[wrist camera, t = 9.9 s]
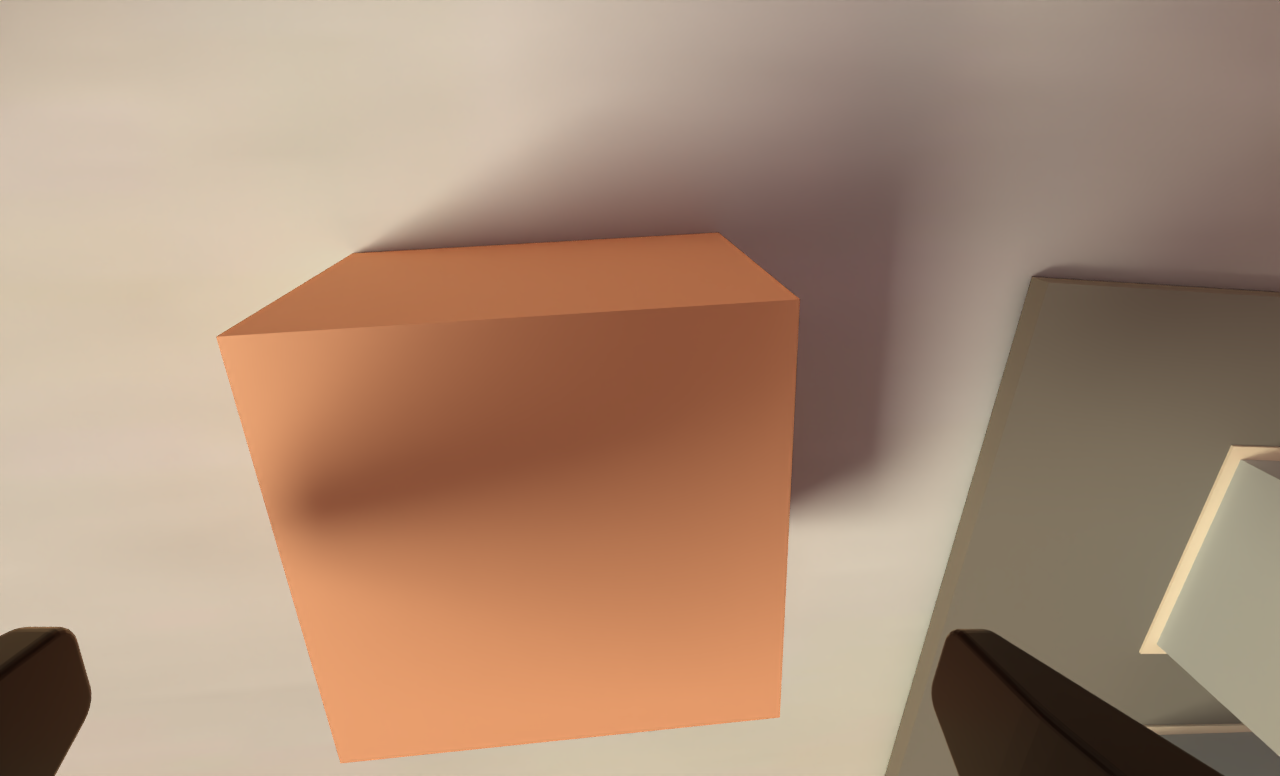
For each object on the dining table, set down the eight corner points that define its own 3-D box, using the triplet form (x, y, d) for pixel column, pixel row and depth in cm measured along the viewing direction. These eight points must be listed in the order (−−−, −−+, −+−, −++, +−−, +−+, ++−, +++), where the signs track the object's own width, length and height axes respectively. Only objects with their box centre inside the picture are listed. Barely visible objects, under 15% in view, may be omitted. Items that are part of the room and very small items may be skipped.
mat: (1309, 908, 22) (1326, 927, 22) (839, 930, 20) (846, 951, 20) (1713, 319, 15) (1755, 327, 14) (1032, 276, 13) (1051, 283, 13)
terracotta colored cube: (716, 530, 15) (779, 717, 10) (416, 556, 14) (340, 762, 10) (717, 231, 12) (799, 298, 8) (355, 251, 12) (216, 337, 7)
